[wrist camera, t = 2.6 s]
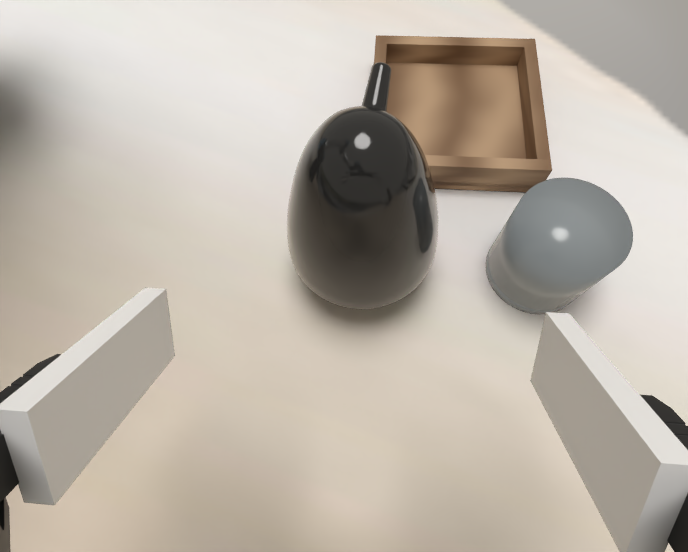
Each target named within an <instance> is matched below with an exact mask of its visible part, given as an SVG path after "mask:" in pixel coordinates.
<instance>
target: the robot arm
mask: <svg viewBox="0 0 688 552" xmlns="http://www.w3.org/2000/svg"><path fill="white" fill-rule="evenodd" d="M174 356H175V353H174V345H173V338H172V330H171V323H170V315H169V307H168V300H167V292H166V289H161V288H144V289H143V290H141V291H140V292H139V293H138V294H136V295H135V296H134V297H133V298H131V299H130V300H129V301H128V302H126V303H125V304H124V305H123V306H121V307H120V308H119V309H118V310H116V311H115V312H114V313H113V314H111V315H110V316H109V317H108V318H106V319H105V320H104V321H103V322H101V323H100V324H99V325H98V326H96V327H95V328H94V329H93V330H91V331H90V332H89V333H88V334H86V335H85V336H84V337H83V338H81V339H80V340H79V341H78V342H76V343H75V344H74V345H73V346H71V347H70V348H69V349H68V350H66V351H65V352H64V353H63V354H56V355H54V356H52V357H50V358H48V359H46V360H44V361H42V362H40V363H38V364H36V365H35V366H34V367H32V368H31V369H30V370H29V371H27V372H26V373H25V374H23V377H20V378H18V379H17V380H16V381H14V382H13V383H12V384H11V386H8V387H7V388H5V389H4V390H3V391H1V392H0V552H10V522H9V506H8V503H7V500H6V498H5V497H6V496H7V495H8V494H9V493H10V492H11V491H12V490H13V489H14V488H15V486H16V485H17V484H18V485H19V488H20V491H21V494H22V497H23V500H24V502H25V503H36V504H46V505H55V504H56V503H57V502H58V500H59V499H60V498H61V497H62V495H63V494H64V493H65V492H66V491H67V489H68V488H69V487H70V486H71V484H72V483H73V482H74V481H75V479H76V478H77V477H78V476H79V474H80V473H81V472H82V471H83V469H84V468H85V467H86V466H87V464H88V463H89V462H90V461H91V459H92V458H93V457H94V456H95V454H96V453H97V452H98V451H99V449H100V448H101V447H102V446H103V444H104V443H105V442H106V441H107V440H108V438H109V437H110V436H111V435H112V433H113V432H114V431H115V430H116V428H117V427H118V426H119V425H120V423H121V422H122V421H123V420H124V418H125V417H126V416H127V415H128V413H129V412H130V411H131V410H132V408H133V407H134V406H135V405H136V403H137V402H138V401H139V400H140V398H141V397H142V396H143V395H144V393H145V392H146V391H147V390H148V388H149V387H150V386H151V385H152V384H153V382H154V381H155V380H156V379H157V377H158V376H159V375H160V374H161V372H162V371H163V370H164V369H165V367H166V366H167V365H168V364H169V362H170V361H171V360H172V359H173V357H174ZM531 383H532V385H533V387H534V388H535V390H536V392H537V394H538V396H539V398H540V400H541V402H542V404H543V406H544V408H545V410H546V411H547V413H548V415H549V417H550V419H551V421H552V423H553V425H554V427H555V429H556V431H557V432H558V434H559V436H560V438H561V440H562V442H563V444H564V446H565V448H566V450H567V452H568V454H569V455H570V457H571V459H572V461H573V463H574V465H575V467H576V469H577V471H578V473H579V475H580V477H581V478H582V480H583V482H584V484H585V486H586V488H587V490H588V492H589V494H590V496H591V498H592V499H593V501H594V503H595V505H596V507H597V509H598V511H599V513H600V515H601V517H602V519H603V521H604V522H605V524H606V526H607V528H608V530H609V532H610V534H611V536H612V538H613V540H614V542H615V543H616V545H617V547H618V549H619V551H620V552H665V549H666V547H667V545H668V543H669V544H670V545H671V547H672V549H673V550H674V552H688V426H685V422H684V421H683V420H682V419H681V418H680V417H679V416H678V415H677V414H676V413H675V412H674V410H673V409H672V408H670V407H669V406H667V405H666V404H664V403H663V402H661V401H660V400H658V399H657V398H655V397H654V396H650V395H640V394H639V393H638V392H637V391H636V390H635V389H634V387H633V386H632V385H631V384H630V383H629V382H628V381H627V379H626V378H625V377H624V376H623V375H622V374H621V372H620V371H619V370H618V369H617V368H616V367H615V366H614V364H613V363H612V362H611V361H610V360H609V359H608V357H607V356H606V355H605V354H604V353H603V352H602V350H601V349H600V348H599V347H598V346H597V345H596V344H595V342H594V341H593V340H592V339H591V338H590V337H589V335H588V334H587V333H586V332H585V331H584V330H583V329H582V327H581V326H580V325H579V324H578V323H577V322H576V320H575V319H574V318H573V317H572V316H571V315H570V314H569V313H553V312H546V314H545V319H544V323H543V328H542V332H541V336H540V341H539V345H538V350H537V354H536V359H535V363H534V368H533V372H532V377H531Z"/></svg>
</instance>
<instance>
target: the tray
mask: <svg viewBox="0 0 688 552" xmlns="http://www.w3.org/2000/svg"><path fill="white" fill-rule="evenodd" d="M378 62H383V63H386V64H388V65H389V66H390V67H391V79H390V88H389V97H388V105H387V112H388V113H390V114H392V115H393V116H395V117H396V118H398V119H399V120H400V121H401V122H403V123H404V124H405V125H406V126H407V127H408V129H409V130H410V131H411V132H412V134H413V135H414V136H415V138H416V139H417V141H418V143H419V145H420V146H421V148H422V151H423V153H424V155H425V157H426V160H427V163H428V165H429V169H430V172H431V176H432V180H433V184H434V188H438V189H461V190H485V191H508V192H527V191H528V190H529V189H530V188H532V187H533V186H535V185H536V184H538V183H540V182H543V181H545V180H546V179H547V177H548V176H549V174H550V173H551V171H552V167H551V159H550V151H549V144H548V136H547V128H546V120H545V113H544V105H543V97H542V89H541V81H540V74H539V66H538V58H537V50H536V43H535V39H509V38H464V37H419V36H376V44H375V59H374V64H375V63H378Z"/></svg>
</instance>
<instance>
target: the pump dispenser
mask: <svg viewBox="0 0 688 552" xmlns="http://www.w3.org/2000/svg"><path fill="white" fill-rule="evenodd" d="M390 79H391V67H390V66H389V65H388V64H386V63H383V62H378V63H375V64H374V65H373V66H372V69H371V73H370V76H369V80H368V84H367V88H366V91H365V95H364V99H363V103H362V106H357V107H351V108H347V109H344V110H341V111H339V112H337V113H335V114H333V115H332V116H330V117H329V118H328V119H327V120H325V121H324V122H323V123H322V124H321V125H320V126H319V128H318V129H317V130H316V131H315V132H314V134H313V135H312V136H311V138H310V139H309V141H308V143H307V144H306V146H305V148H304V150H303V152H302V155H301V157H300V159H299V162H298V165H297V168H296V171H295V175H294V179H293V183H292V188H291V192H290V198H289V204H288V215H287V238H288V247H289V252H290V256H291V259H292V262H293V265H294V267H295V270H296V271H297V273H298V275H299V277H300V278H301V280H302V281H303V282H304V283H305V285H306V286H307V287H308V288H309V289H310V290H312V291H313V292H314V293H315V294H317V295H318V296H319V297H321V298H323V299H324V300H326V301H328V302H330V303H333V304H335V305H338V306H342V307H346V308H352V309H373V308H379V307H383V306H386V305H389V304H392V303H394V302H397V301H399V300H400V299H402V298H404V297H405V296H407V295H408V294H410V293H411V292H412V291H413V290H414V289H416V288H417V287H418V285H419V284H420V283H421V282H422V281H423V279H424V278H425V276H426V275H427V273H428V271H429V269H430V267H431V265H432V262H433V259H434V256H435V252H436V247H437V239H438V210H437V201H436V194H435V189H434V184H433V180H432V176H431V172H430V169H429V165H428V163H427V160H426V157H425V155H424V153H423V151H422V148H421V146H420V145H419V143H418V141H417V139H416V138H415V136H414V135H413V134H412V132H411V131H410V130H409V129H408V127H407V126H406V125H405V124H404V123H403V122H401V121H400V120H399V119H398V118H396V117H395V116H393V115H392V114H390V113H388V112H387V105H388V97H389V88H390Z"/></svg>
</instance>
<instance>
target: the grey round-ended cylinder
mask: <svg viewBox="0 0 688 552" xmlns="http://www.w3.org/2000/svg"><path fill="white" fill-rule="evenodd" d="M632 242H633V232H632V226H631V222H630V220H629V217H628V215H627V213H626V212H625V210H624V208H623V207H622V206H621V205H620V203H619V202H618V201H617V200H616V199H615V198H614V197H613V196H612V195H610V194H609V193H608V192H606V191H605V190H603V189H602V188H600V187H598V186H596V185H594V184H592V183H589V182H586V181H583V180H579V179H574V178H554V179H549V180H546V181H543V182H540V183H538V184H536V185H535V186H533V187H532V188H530V189H529V190H528V191H527V192H526V193H525V194H524V196H523V197H522V198H521V200H520V201H519V203H518V205H517V206H516V208H515V209H514V211H513V213H512V214H511V216H510V218H509V219H508V221H507V222H506V224H505V226H504V227H503V229H502V230H501V232H500V234H499V235H498V237H497V238H496V240H495V242H494V243H493V245H492V247H491V248H490V250H489V252H488V255H487V259H486V273H487V277H488V280H489V282H490V284H491V286H492V288H493V290H494V291H495V292H496V294H497V295H498V296H499V297H500V298H501V299H502V300H503V301H505V302H506V303H507V304H509V305H510V306H512V307H514V308H516V309H518V310H521V311H524V312H527V313H533V314H546V312H555V311H558V310H560V309H562V308H563V307H565V306H567V305H568V304H569V303H571V302H572V301H573V300H575V299H576V298H577V297H579V296H580V295H581V294H583V293H584V292H585V291H587V290H588V289H589V288H591V287H592V286H593V285H595V284H596V283H597V282H599V281H600V280H601V279H603V278H604V277H605V276H607V275H608V274H609V273H611V272H612V271H613V270H615V269H616V268H617V267H618V266H620V265H621V264H622V263H623V262H624V260H625V259H626V258H627V256H628V254H629V252H630V250H631V247H632Z"/></svg>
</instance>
